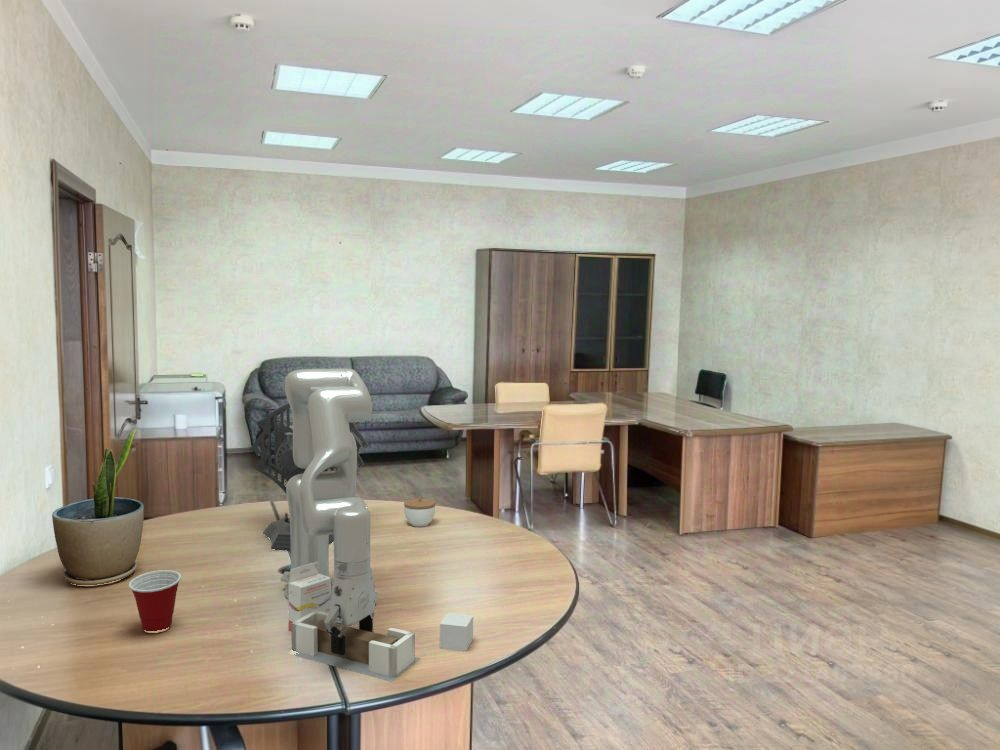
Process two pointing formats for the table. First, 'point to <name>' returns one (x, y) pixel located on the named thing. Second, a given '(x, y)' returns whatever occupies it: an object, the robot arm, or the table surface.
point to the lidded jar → (419, 511)
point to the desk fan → (287, 466)
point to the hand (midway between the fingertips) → (352, 644)
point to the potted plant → (100, 529)
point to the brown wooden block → (351, 642)
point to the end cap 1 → (306, 633)
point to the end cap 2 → (392, 653)
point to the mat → (349, 664)
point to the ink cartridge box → (308, 592)
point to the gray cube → (456, 631)
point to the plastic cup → (155, 598)
